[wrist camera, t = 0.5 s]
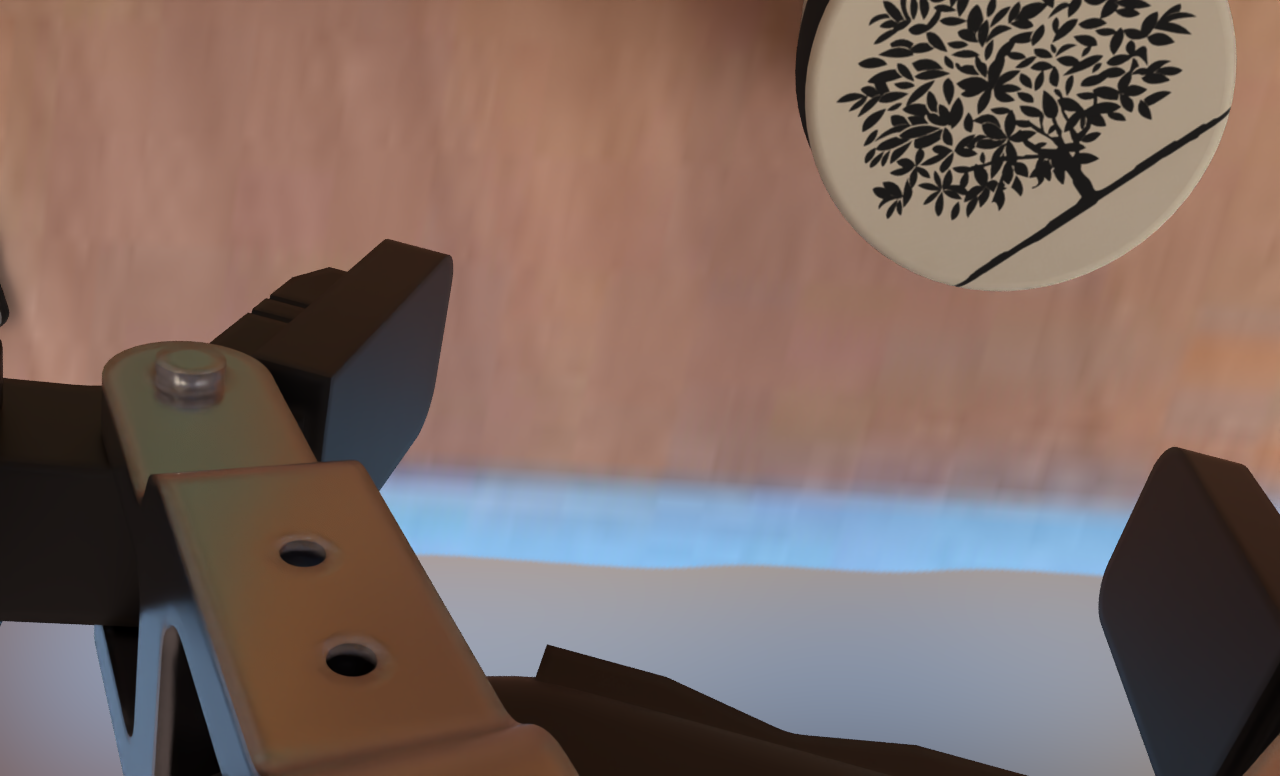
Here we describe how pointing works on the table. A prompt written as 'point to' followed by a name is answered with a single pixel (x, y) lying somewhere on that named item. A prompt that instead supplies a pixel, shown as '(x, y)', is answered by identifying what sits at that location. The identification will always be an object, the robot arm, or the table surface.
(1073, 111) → the travel mug
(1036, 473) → the table surface
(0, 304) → the external hard drive
